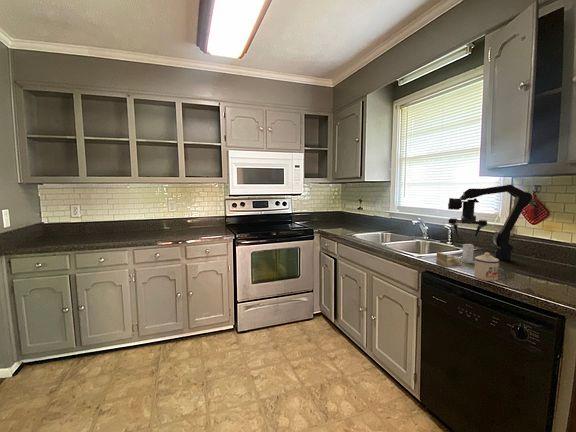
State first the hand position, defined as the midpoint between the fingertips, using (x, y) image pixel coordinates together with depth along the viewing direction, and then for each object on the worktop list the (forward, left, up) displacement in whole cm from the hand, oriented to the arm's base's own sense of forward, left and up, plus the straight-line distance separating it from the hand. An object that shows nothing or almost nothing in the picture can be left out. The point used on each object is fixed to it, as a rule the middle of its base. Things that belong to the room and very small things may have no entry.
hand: (466, 236), depth 164 cm
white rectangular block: (-2, +14, -12) cm, 19 cm away
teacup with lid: (-12, +40, -12) cm, 43 cm away
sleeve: (+6, +24, -12) cm, 27 cm away
